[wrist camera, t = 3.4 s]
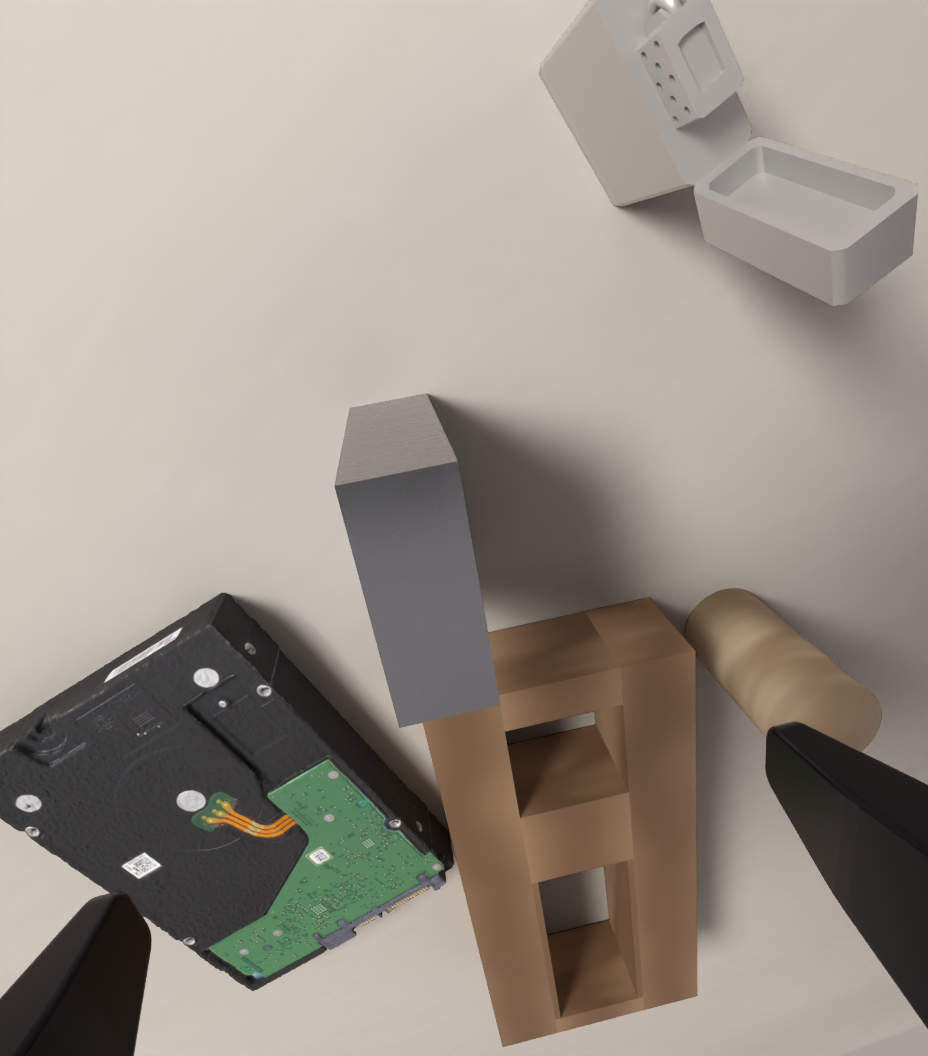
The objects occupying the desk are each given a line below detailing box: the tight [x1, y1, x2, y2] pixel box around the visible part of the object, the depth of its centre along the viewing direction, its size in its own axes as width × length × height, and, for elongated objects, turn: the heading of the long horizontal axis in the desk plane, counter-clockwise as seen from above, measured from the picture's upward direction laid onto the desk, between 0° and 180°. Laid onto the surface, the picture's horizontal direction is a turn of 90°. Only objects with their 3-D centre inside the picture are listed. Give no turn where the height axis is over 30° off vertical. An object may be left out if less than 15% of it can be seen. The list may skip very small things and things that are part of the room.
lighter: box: [539, 0, 918, 306], centre depth 13 cm, size 7×2×8 cm, turn 38°
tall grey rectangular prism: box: [335, 394, 501, 728], centre depth 16 cm, size 2×6×8 cm, turn 10°
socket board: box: [423, 598, 697, 1047], centre depth 24 cm, size 9×19×4 cm, turn 10°
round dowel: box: [685, 589, 882, 752], centre depth 21 cm, size 3×3×6 cm
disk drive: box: [0, 593, 454, 991], centre depth 22 cm, size 10×3×15 cm
